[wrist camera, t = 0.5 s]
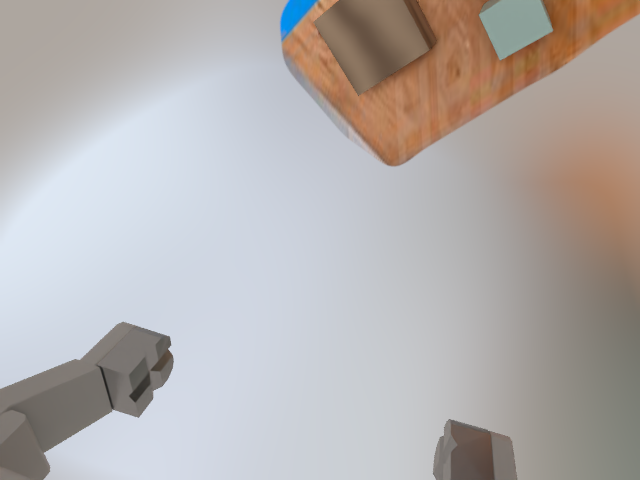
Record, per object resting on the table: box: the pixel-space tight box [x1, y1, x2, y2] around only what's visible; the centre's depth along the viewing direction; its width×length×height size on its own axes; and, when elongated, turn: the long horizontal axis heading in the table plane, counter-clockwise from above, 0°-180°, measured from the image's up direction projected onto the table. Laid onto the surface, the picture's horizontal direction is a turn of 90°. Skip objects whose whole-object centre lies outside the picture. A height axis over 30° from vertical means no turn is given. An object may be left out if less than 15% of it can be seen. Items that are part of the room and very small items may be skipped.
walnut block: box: [314, 0, 437, 96], centre depth 49 cm, size 10×10×5 cm
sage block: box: [479, 0, 553, 60], centre depth 42 cm, size 5×5×7 cm
